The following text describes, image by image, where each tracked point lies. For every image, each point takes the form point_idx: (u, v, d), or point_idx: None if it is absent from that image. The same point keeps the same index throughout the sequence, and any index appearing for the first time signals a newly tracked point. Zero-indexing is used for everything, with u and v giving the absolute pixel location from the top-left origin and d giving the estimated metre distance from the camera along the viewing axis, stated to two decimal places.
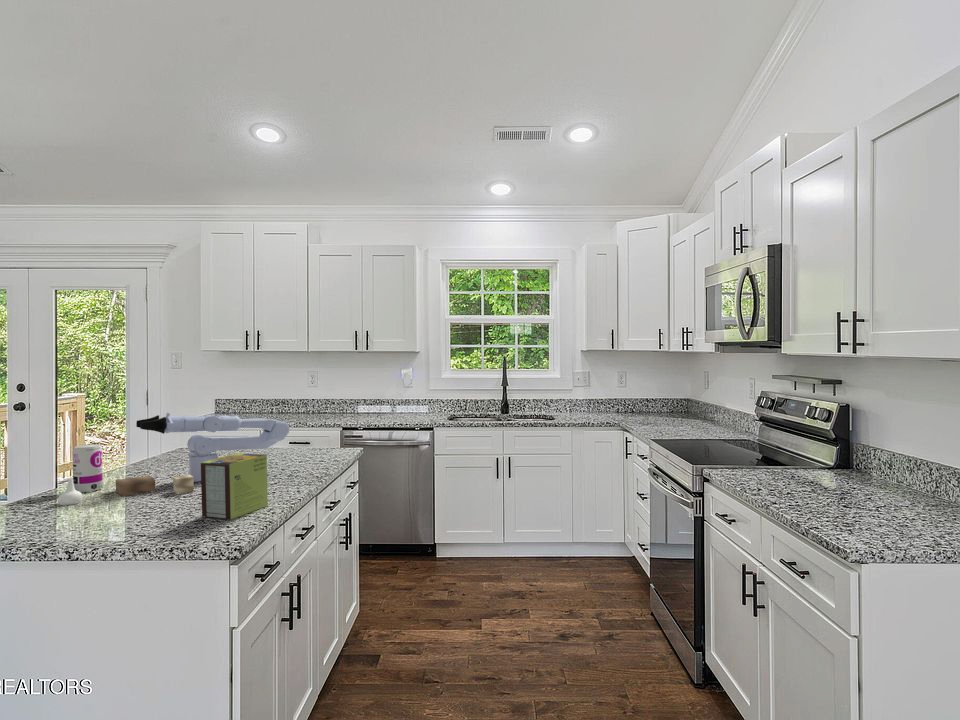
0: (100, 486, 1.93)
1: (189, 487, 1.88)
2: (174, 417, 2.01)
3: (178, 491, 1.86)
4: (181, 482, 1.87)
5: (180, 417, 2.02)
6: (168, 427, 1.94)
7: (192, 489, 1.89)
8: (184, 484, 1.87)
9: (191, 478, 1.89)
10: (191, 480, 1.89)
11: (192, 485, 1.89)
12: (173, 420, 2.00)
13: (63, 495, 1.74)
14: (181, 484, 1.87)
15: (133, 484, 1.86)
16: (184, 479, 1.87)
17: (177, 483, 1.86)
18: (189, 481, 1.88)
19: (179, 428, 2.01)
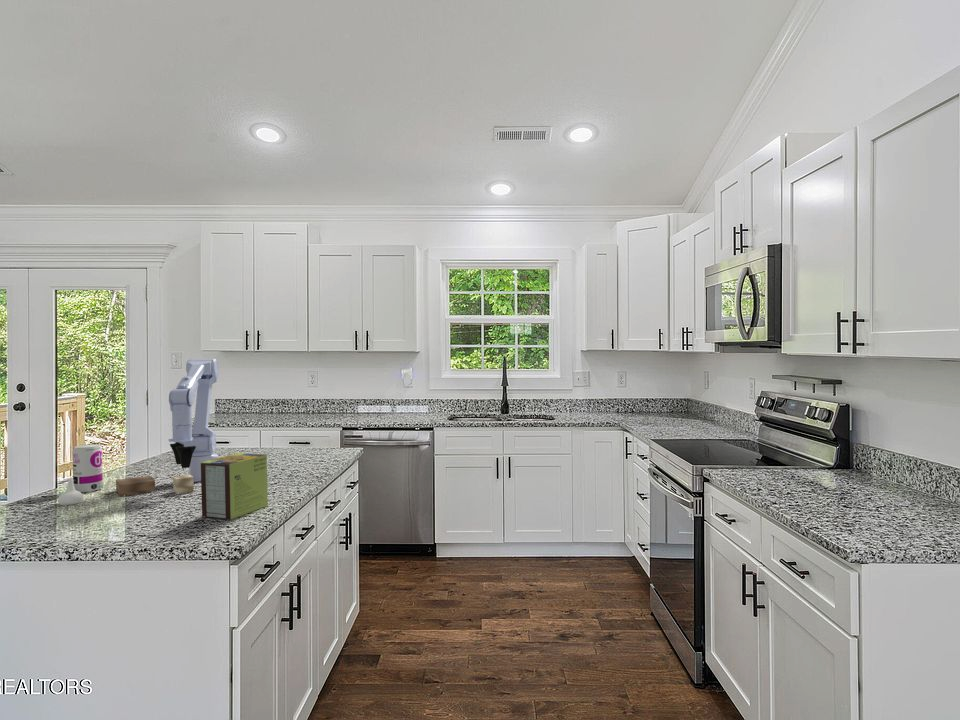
0: (100, 486, 1.93)
1: (189, 487, 1.88)
2: (175, 435, 1.87)
3: (178, 491, 1.86)
4: (181, 482, 1.87)
5: (175, 429, 1.87)
6: (189, 445, 1.84)
7: (192, 489, 1.89)
8: (184, 483, 1.87)
9: (191, 478, 1.89)
10: (191, 480, 1.89)
11: (192, 485, 1.89)
12: (179, 436, 1.86)
13: (63, 495, 1.74)
14: (181, 484, 1.87)
15: (133, 484, 1.86)
16: (184, 479, 1.87)
17: (177, 483, 1.86)
18: (189, 481, 1.88)
19: (188, 429, 1.88)
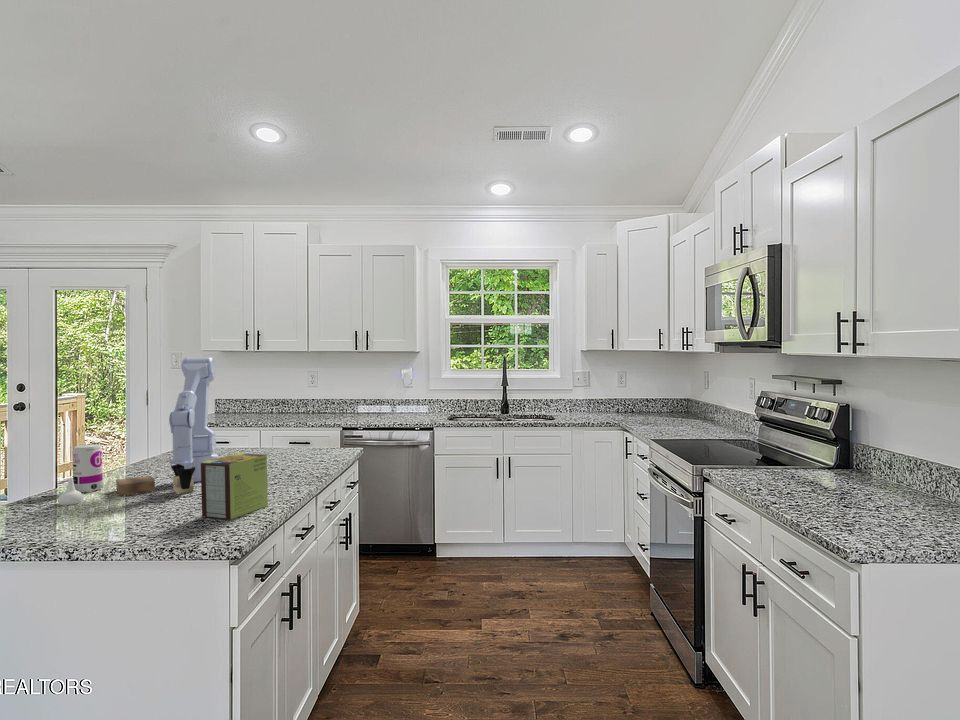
0: (100, 486, 1.93)
1: None
2: (175, 456, 1.87)
3: (178, 491, 1.86)
4: None
5: (175, 451, 1.87)
6: (189, 467, 1.84)
7: (192, 489, 1.89)
8: None
9: (191, 478, 1.89)
10: (191, 480, 1.89)
11: (192, 485, 1.89)
12: (179, 458, 1.86)
13: (63, 495, 1.74)
14: None
15: (132, 484, 1.86)
16: None
17: (177, 483, 1.86)
18: None
19: (189, 451, 1.88)
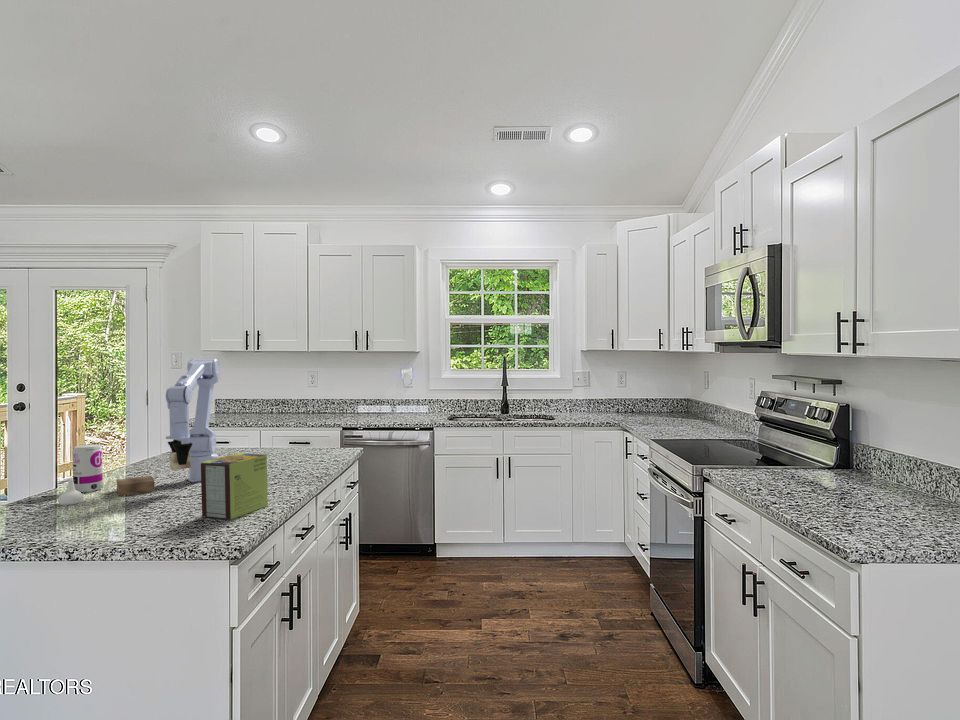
0: (100, 486, 1.93)
1: None
2: (172, 432, 1.87)
3: (175, 466, 1.86)
4: None
5: (172, 426, 1.87)
6: (186, 442, 1.84)
7: (189, 465, 1.89)
8: None
9: (188, 454, 1.89)
10: (188, 456, 1.89)
11: (189, 461, 1.89)
12: (176, 434, 1.86)
13: (63, 495, 1.74)
14: None
15: (132, 484, 1.86)
16: None
17: (174, 458, 1.86)
18: None
19: (185, 426, 1.88)
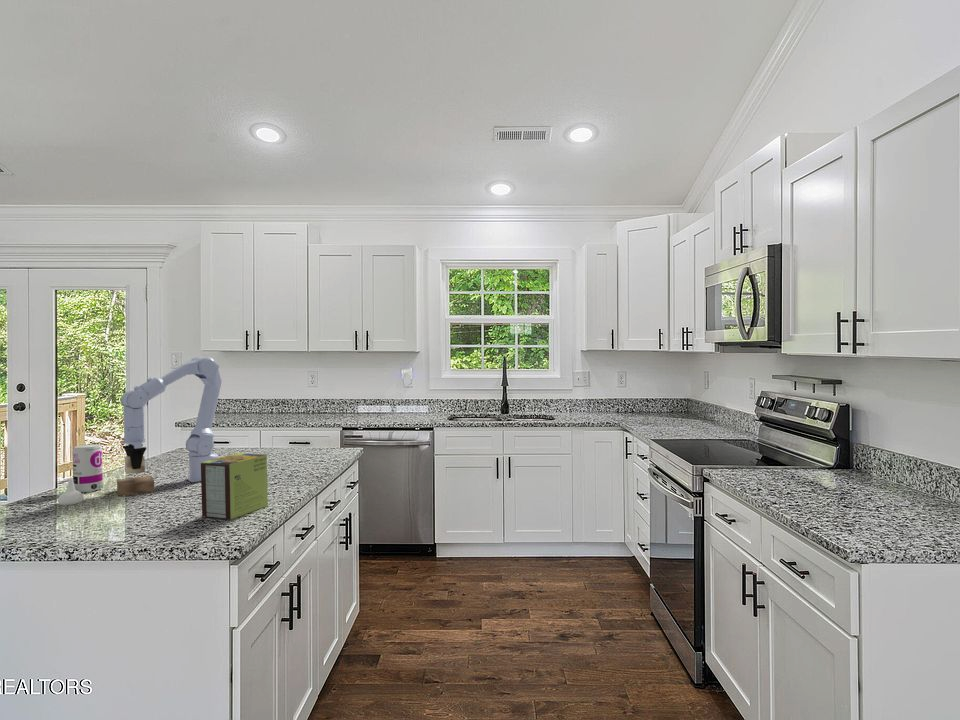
0: (100, 486, 1.93)
1: None
2: (126, 436, 1.88)
3: (128, 470, 1.88)
4: None
5: (126, 431, 1.88)
6: (139, 446, 1.86)
7: (143, 469, 1.90)
8: None
9: (142, 458, 1.90)
10: (142, 460, 1.90)
11: (143, 465, 1.90)
12: (130, 438, 1.88)
13: (63, 495, 1.74)
14: None
15: (132, 484, 1.86)
16: None
17: (127, 462, 1.88)
18: None
19: (140, 431, 1.90)
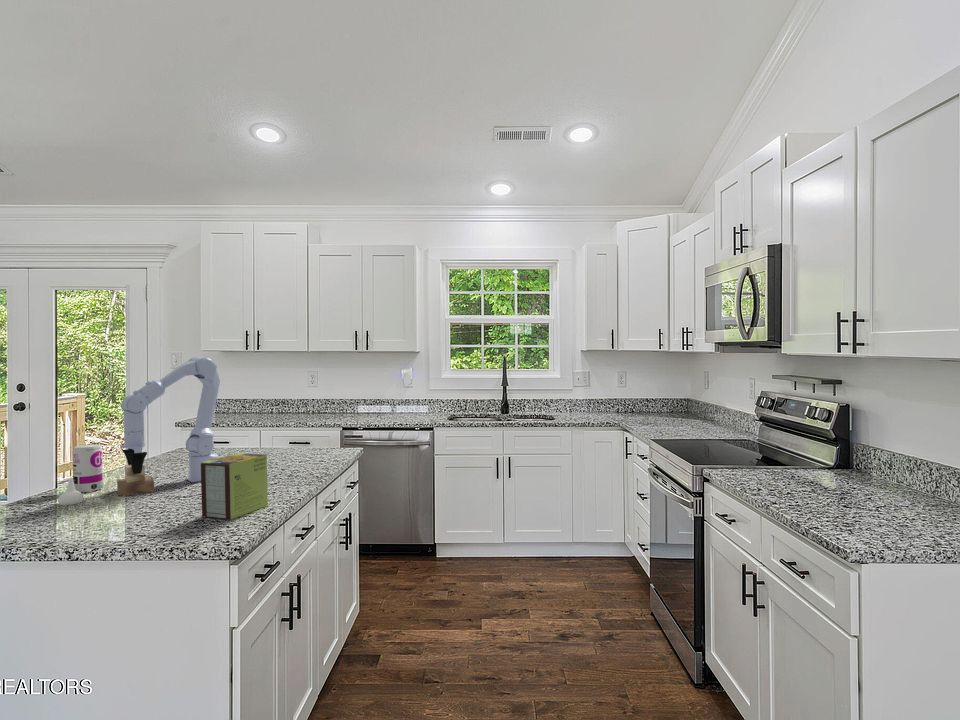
0: (100, 486, 1.93)
1: (140, 475, 1.90)
2: (126, 441, 1.88)
3: (129, 479, 1.88)
4: (132, 471, 1.88)
5: (126, 435, 1.88)
6: (140, 451, 1.86)
7: (143, 477, 1.90)
8: None
9: (142, 467, 1.90)
10: (142, 468, 1.90)
11: (143, 473, 1.90)
12: (130, 442, 1.88)
13: (63, 495, 1.74)
14: (132, 472, 1.88)
15: (131, 484, 1.86)
16: None
17: (128, 471, 1.88)
18: None
19: (140, 435, 1.90)
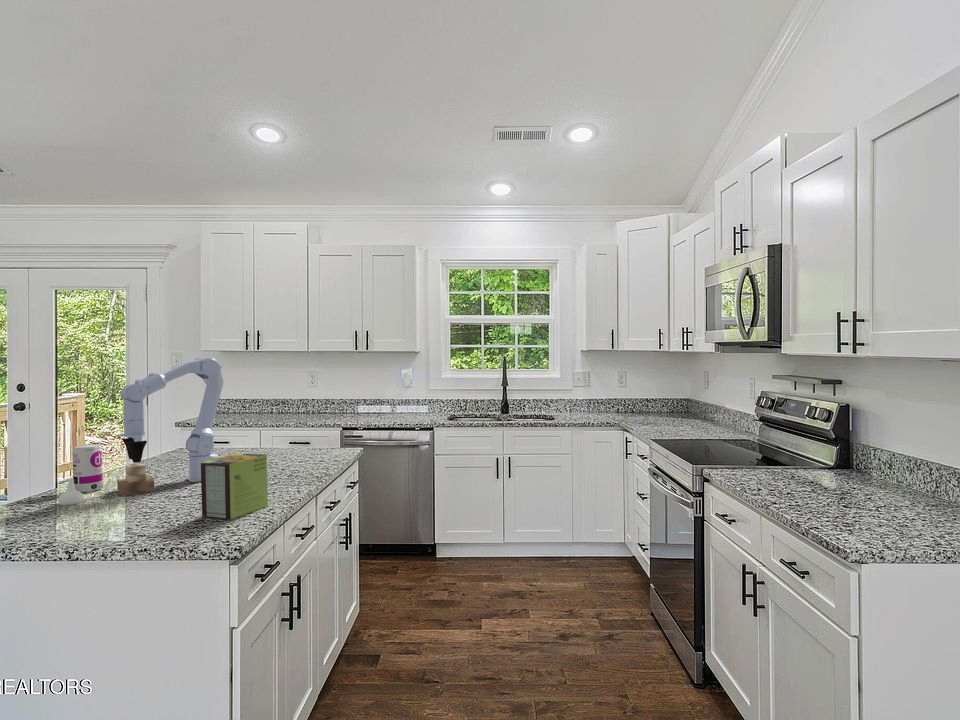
0: (100, 486, 1.93)
1: (141, 475, 1.90)
2: (126, 430, 1.88)
3: (130, 479, 1.88)
4: (133, 471, 1.88)
5: (126, 424, 1.88)
6: (139, 440, 1.86)
7: (144, 477, 1.91)
8: (136, 472, 1.89)
9: (143, 466, 1.90)
10: (143, 468, 1.90)
11: (144, 473, 1.91)
12: (130, 431, 1.88)
13: (63, 495, 1.74)
14: (133, 472, 1.89)
15: (132, 484, 1.86)
16: (136, 467, 1.89)
17: (129, 471, 1.88)
18: (141, 469, 1.90)
19: (140, 424, 1.90)
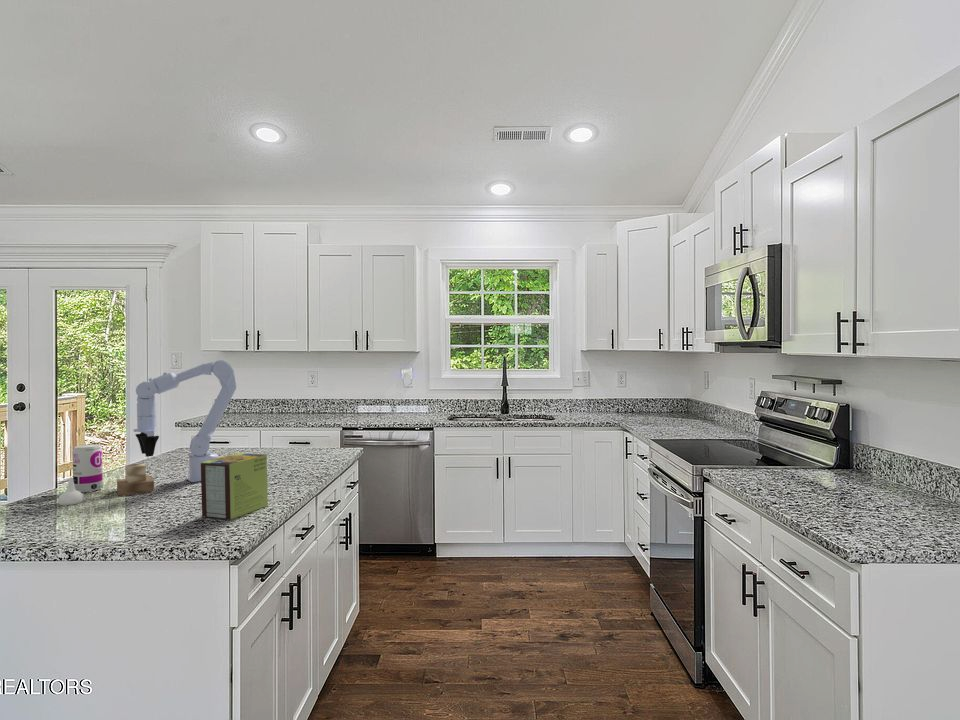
0: (100, 486, 1.93)
1: (141, 475, 1.90)
2: (139, 425, 1.98)
3: (130, 479, 1.88)
4: (133, 471, 1.89)
5: (139, 420, 1.97)
6: (152, 434, 1.95)
7: (144, 477, 1.91)
8: (136, 472, 1.89)
9: (143, 466, 1.90)
10: (143, 468, 1.90)
11: (144, 473, 1.91)
12: (143, 426, 1.97)
13: (64, 495, 1.74)
14: (133, 472, 1.89)
15: (131, 484, 1.86)
16: (136, 467, 1.89)
17: (129, 471, 1.88)
18: (141, 469, 1.90)
19: (152, 420, 1.99)
